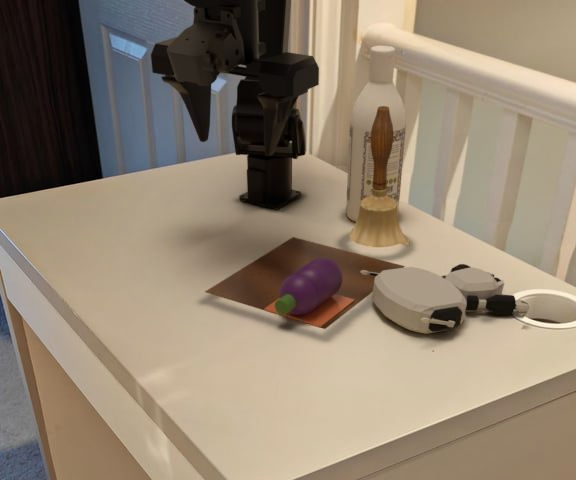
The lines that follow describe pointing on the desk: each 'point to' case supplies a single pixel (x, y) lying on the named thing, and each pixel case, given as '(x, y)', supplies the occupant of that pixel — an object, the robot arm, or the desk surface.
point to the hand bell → (379, 193)
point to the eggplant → (309, 287)
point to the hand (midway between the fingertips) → (236, 148)
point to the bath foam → (362, 119)
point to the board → (289, 259)
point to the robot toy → (439, 297)
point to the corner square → (319, 310)
